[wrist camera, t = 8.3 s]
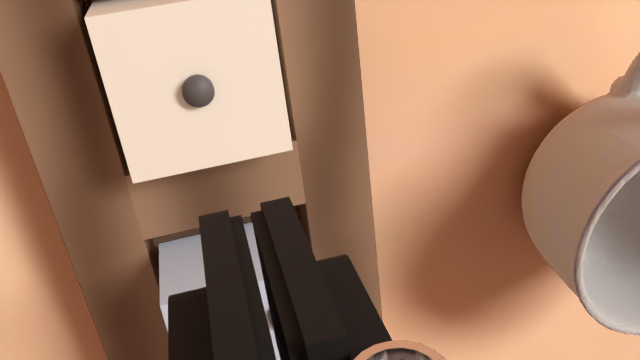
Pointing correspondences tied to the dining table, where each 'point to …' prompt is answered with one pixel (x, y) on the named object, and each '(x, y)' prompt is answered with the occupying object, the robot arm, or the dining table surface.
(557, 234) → the teacup
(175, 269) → the white die
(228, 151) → the cream square block
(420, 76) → the dining table surface
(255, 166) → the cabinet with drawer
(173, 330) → the robot arm
